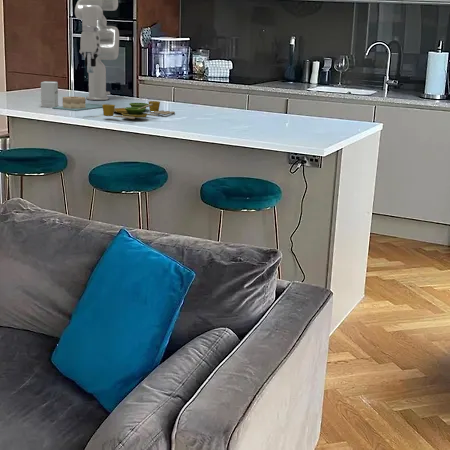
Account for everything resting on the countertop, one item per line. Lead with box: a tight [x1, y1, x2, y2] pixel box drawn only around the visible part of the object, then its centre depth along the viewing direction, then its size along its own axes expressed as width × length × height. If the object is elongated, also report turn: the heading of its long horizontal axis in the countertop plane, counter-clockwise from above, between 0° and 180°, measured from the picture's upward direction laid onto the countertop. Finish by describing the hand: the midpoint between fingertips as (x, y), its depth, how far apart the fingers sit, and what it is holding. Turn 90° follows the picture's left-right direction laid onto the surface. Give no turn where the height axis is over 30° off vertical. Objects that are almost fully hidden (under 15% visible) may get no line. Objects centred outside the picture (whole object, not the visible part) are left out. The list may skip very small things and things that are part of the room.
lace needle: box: [86, 52, 94, 74], centre depth 382 cm, size 3×3×12 cm
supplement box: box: [40, 81, 59, 108], centre depth 380 cm, size 7×7×13 cm
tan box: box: [62, 96, 87, 109], centre depth 375 cm, size 11×11×5 cm
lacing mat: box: [51, 102, 103, 112], centre depth 382 cm, size 30×15×1 cm, turn 153°
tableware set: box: [102, 100, 176, 120], centre depth 367 cm, size 41×28×6 cm
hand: (90, 65), depth 383 cm, fingers closed on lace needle, 3 cm apart
